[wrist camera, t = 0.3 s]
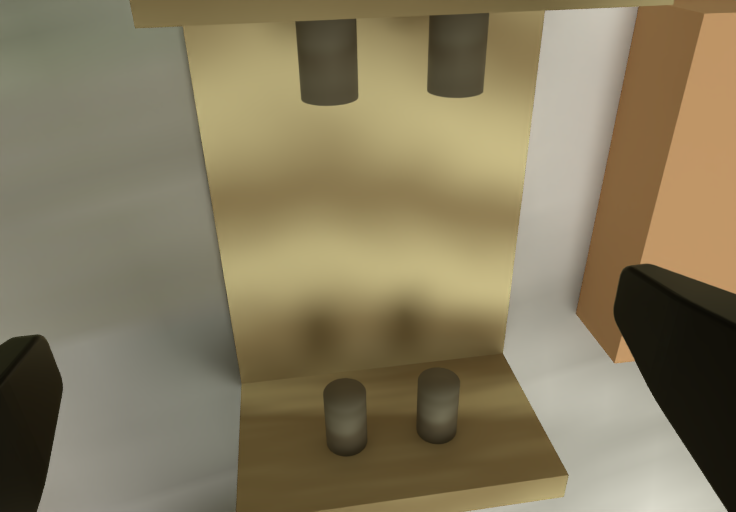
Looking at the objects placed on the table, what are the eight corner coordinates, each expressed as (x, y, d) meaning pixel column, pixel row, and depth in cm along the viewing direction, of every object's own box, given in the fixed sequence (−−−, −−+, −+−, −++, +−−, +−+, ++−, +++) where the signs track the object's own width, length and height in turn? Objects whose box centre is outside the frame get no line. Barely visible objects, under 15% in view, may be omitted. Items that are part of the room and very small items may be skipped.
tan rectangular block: (686, 298, 30) (742, 349, 26) (572, 309, 29) (614, 363, 26) (782, -7, 23) (874, 7, 19) (635, -3, 22) (704, 13, 19)
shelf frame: (493, 359, 29) (563, 496, 22) (245, 388, 28) (240, 544, 21) (541, -67, 20) (686, -54, 13) (173, -57, 19) (122, -37, 12)
